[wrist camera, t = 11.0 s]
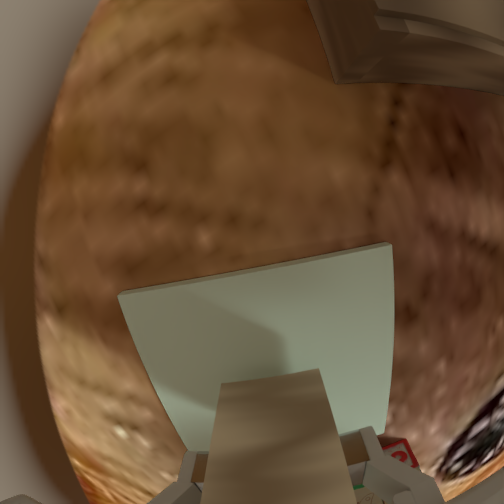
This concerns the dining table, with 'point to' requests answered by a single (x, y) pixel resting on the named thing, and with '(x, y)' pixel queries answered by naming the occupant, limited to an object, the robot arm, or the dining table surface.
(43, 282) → the dining table surface
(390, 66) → the access box
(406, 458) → the stack of blocks
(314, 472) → the maple block
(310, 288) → the zone pad
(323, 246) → the dining table surface
